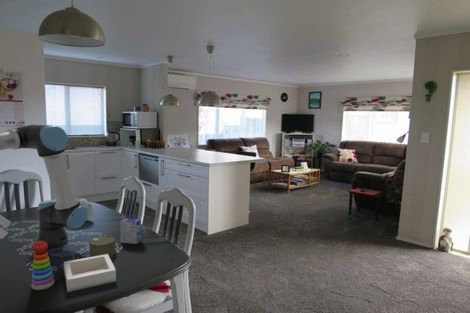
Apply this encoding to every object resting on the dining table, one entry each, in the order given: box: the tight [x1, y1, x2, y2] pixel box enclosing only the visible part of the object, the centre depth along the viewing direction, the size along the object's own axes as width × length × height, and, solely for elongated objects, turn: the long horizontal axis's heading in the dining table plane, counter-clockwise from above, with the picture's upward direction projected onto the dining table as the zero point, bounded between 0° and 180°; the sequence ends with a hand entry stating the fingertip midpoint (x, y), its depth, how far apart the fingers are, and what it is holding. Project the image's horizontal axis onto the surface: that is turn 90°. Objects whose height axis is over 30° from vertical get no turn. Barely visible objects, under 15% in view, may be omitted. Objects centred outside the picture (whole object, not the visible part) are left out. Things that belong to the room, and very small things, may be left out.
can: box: [89, 235, 116, 257], centre depth 163 cm, size 12×12×7 cm
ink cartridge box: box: [120, 214, 142, 245], centre depth 178 cm, size 10×6×14 cm, turn 78°
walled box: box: [63, 254, 117, 293], centre depth 139 cm, size 18×18×5 cm
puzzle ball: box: [78, 198, 94, 221], centre depth 209 cm, size 15×15×15 cm
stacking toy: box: [30, 241, 55, 291], centre depth 130 cm, size 8×8×19 cm
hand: (6, 230), depth 125 cm, fingers open, 13 cm apart
